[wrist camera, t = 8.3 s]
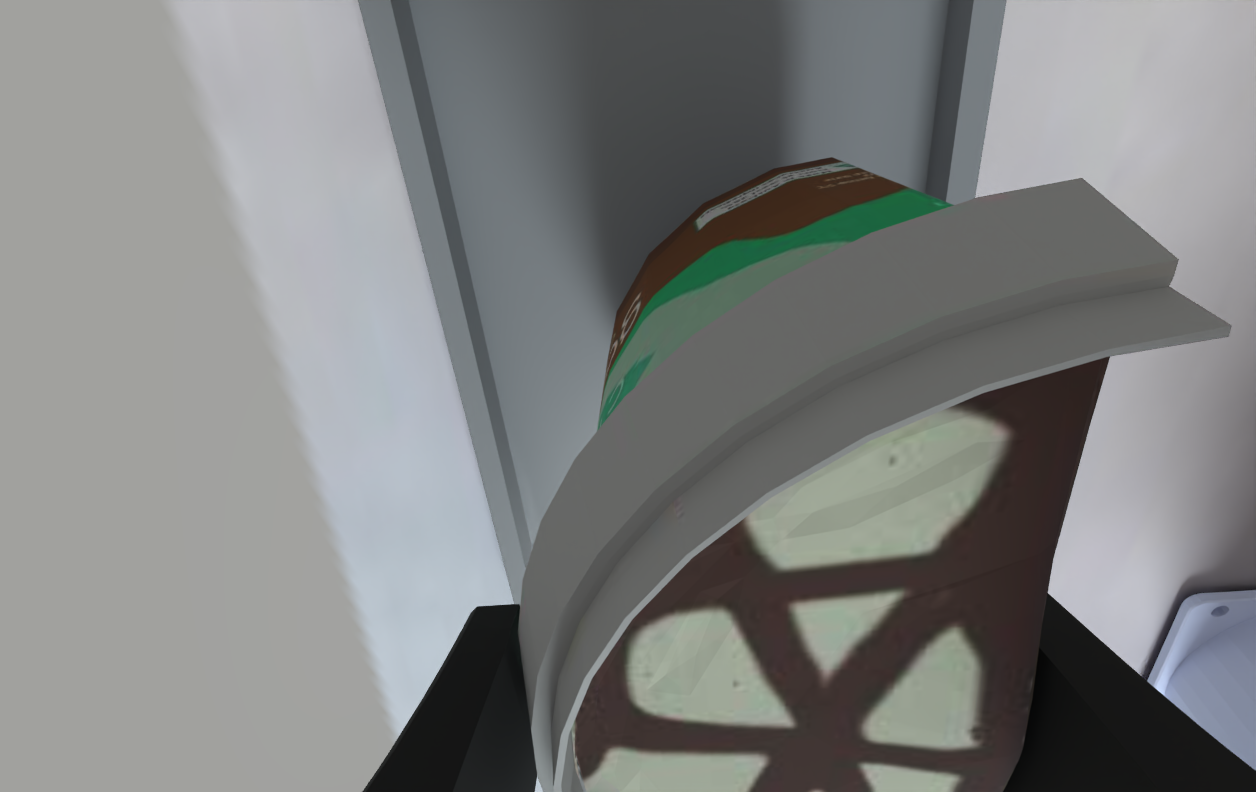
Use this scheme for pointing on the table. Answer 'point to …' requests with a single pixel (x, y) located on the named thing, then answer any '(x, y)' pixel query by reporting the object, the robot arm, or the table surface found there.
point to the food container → (831, 487)
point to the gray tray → (634, 169)
